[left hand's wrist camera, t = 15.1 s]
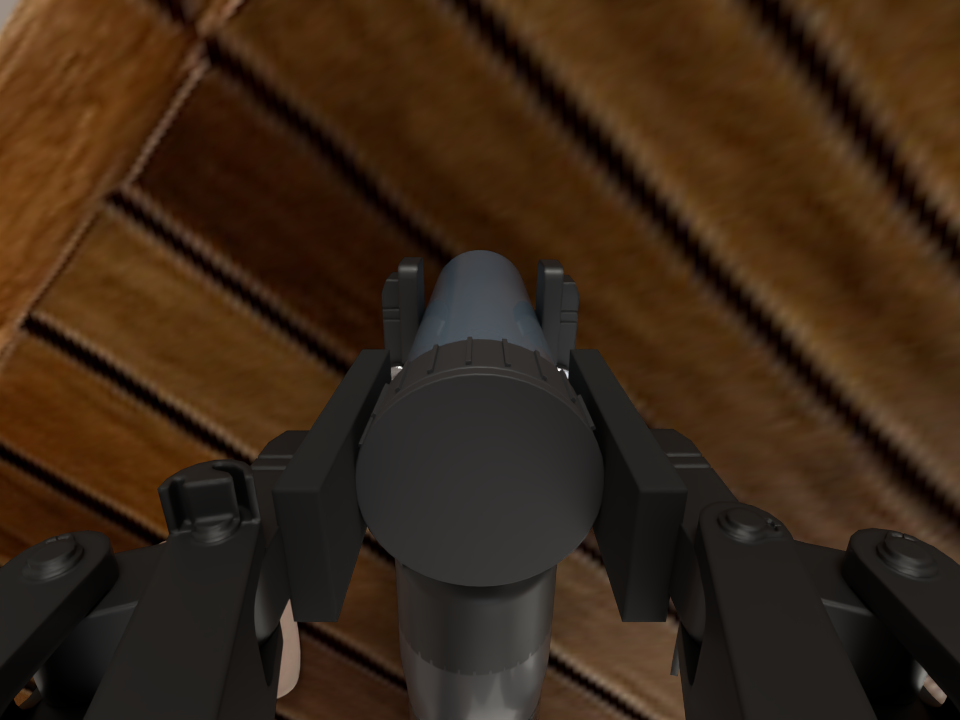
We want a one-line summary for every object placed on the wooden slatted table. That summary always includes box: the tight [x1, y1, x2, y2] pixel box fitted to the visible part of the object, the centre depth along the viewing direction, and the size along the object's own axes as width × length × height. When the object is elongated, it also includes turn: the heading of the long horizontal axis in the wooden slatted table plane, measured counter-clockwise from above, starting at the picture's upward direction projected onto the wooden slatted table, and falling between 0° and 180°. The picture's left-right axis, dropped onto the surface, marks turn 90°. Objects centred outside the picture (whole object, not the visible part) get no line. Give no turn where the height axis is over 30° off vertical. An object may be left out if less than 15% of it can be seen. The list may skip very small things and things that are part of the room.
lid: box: [355, 337, 605, 586], centre depth 11 cm, size 5×5×2 cm
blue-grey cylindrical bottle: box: [406, 250, 556, 367], centre depth 18 cm, size 5×5×16 cm
